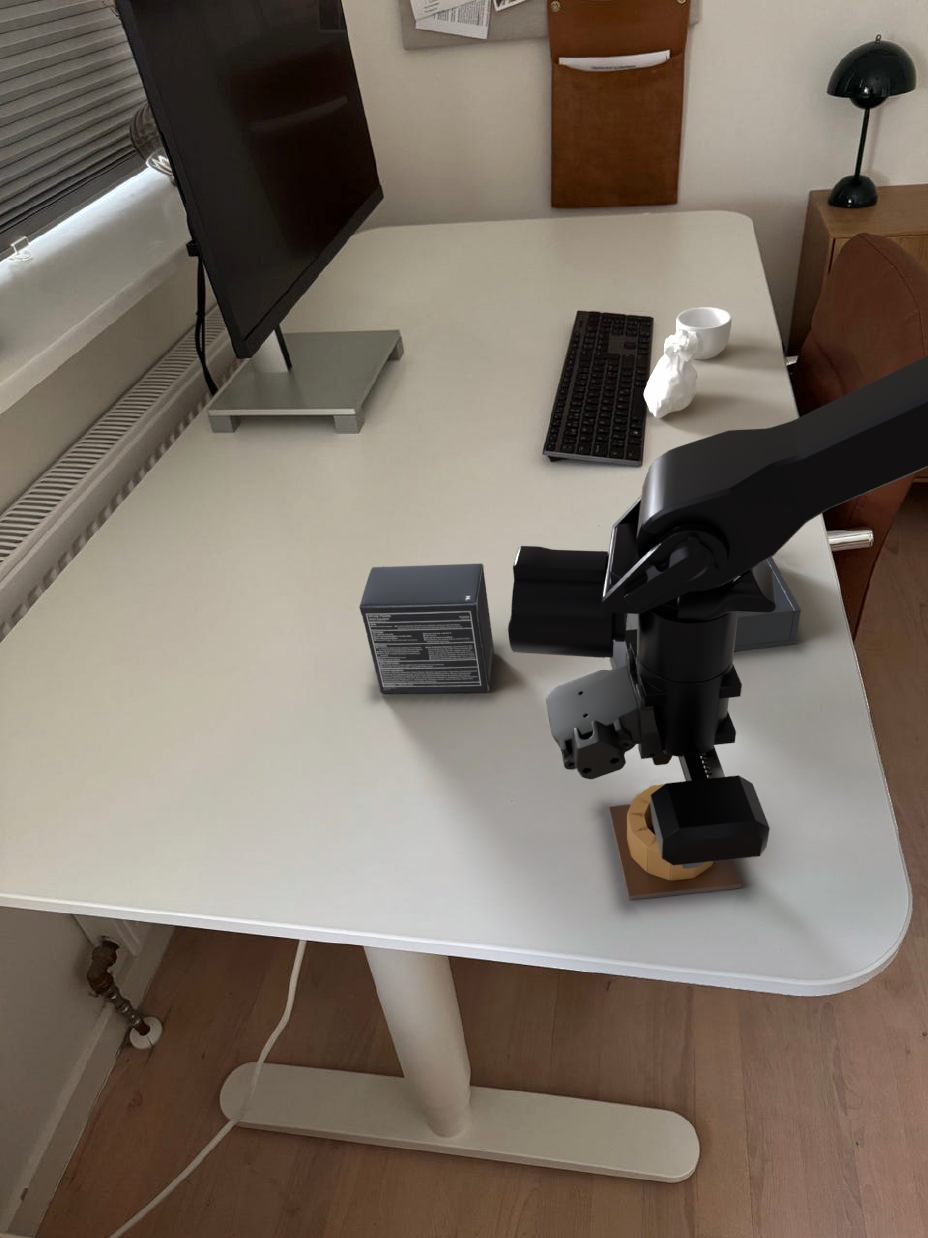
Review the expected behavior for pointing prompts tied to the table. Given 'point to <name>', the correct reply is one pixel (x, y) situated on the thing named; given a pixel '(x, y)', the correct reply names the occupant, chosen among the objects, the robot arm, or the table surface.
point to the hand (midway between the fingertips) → (674, 812)
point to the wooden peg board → (650, 885)
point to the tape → (652, 842)
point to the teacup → (707, 328)
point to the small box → (429, 628)
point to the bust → (674, 374)
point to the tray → (764, 620)
